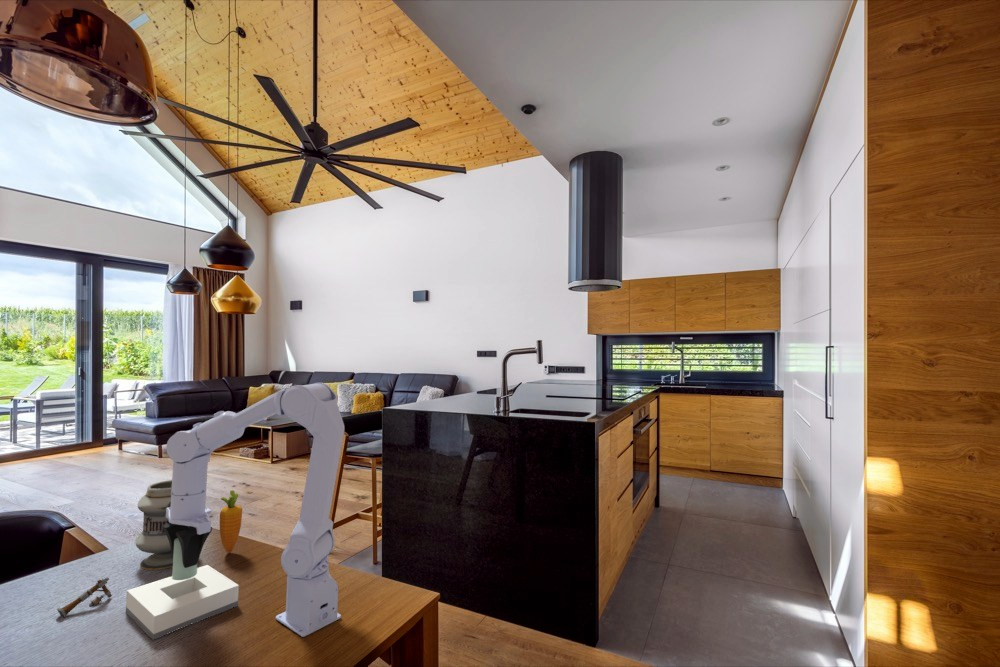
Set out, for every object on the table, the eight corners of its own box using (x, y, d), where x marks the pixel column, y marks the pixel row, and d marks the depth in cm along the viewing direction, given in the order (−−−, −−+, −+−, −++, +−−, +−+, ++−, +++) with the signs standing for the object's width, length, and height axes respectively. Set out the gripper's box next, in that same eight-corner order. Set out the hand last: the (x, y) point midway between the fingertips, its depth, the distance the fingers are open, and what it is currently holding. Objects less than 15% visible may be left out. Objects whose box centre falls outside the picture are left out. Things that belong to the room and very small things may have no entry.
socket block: (237, 605, 92) (238, 585, 92) (153, 640, 80) (154, 616, 81) (206, 583, 100) (207, 564, 100) (125, 612, 89) (126, 590, 89)
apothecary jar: (151, 551, 115) (156, 477, 116) (205, 548, 117) (209, 476, 118) (121, 574, 103) (126, 491, 104) (181, 570, 105) (186, 490, 106)
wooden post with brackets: (118, 592, 94) (109, 575, 92) (71, 628, 87) (60, 610, 86) (113, 590, 95) (104, 573, 93) (66, 625, 88) (55, 607, 87)
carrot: (233, 558, 113) (236, 495, 113) (212, 557, 113) (216, 494, 113) (244, 549, 118) (247, 489, 118) (225, 548, 118) (228, 488, 118)
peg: (200, 574, 91) (202, 537, 91) (177, 582, 88) (180, 544, 88) (191, 568, 93) (193, 533, 94) (168, 576, 90) (170, 539, 90)
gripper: (229, 493, 90) (225, 565, 90) (194, 480, 99) (190, 546, 98) (188, 502, 85) (184, 579, 84) (155, 488, 93) (151, 557, 92)
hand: (185, 562), depth 91 cm, fingers closed on peg, 4 cm apart
